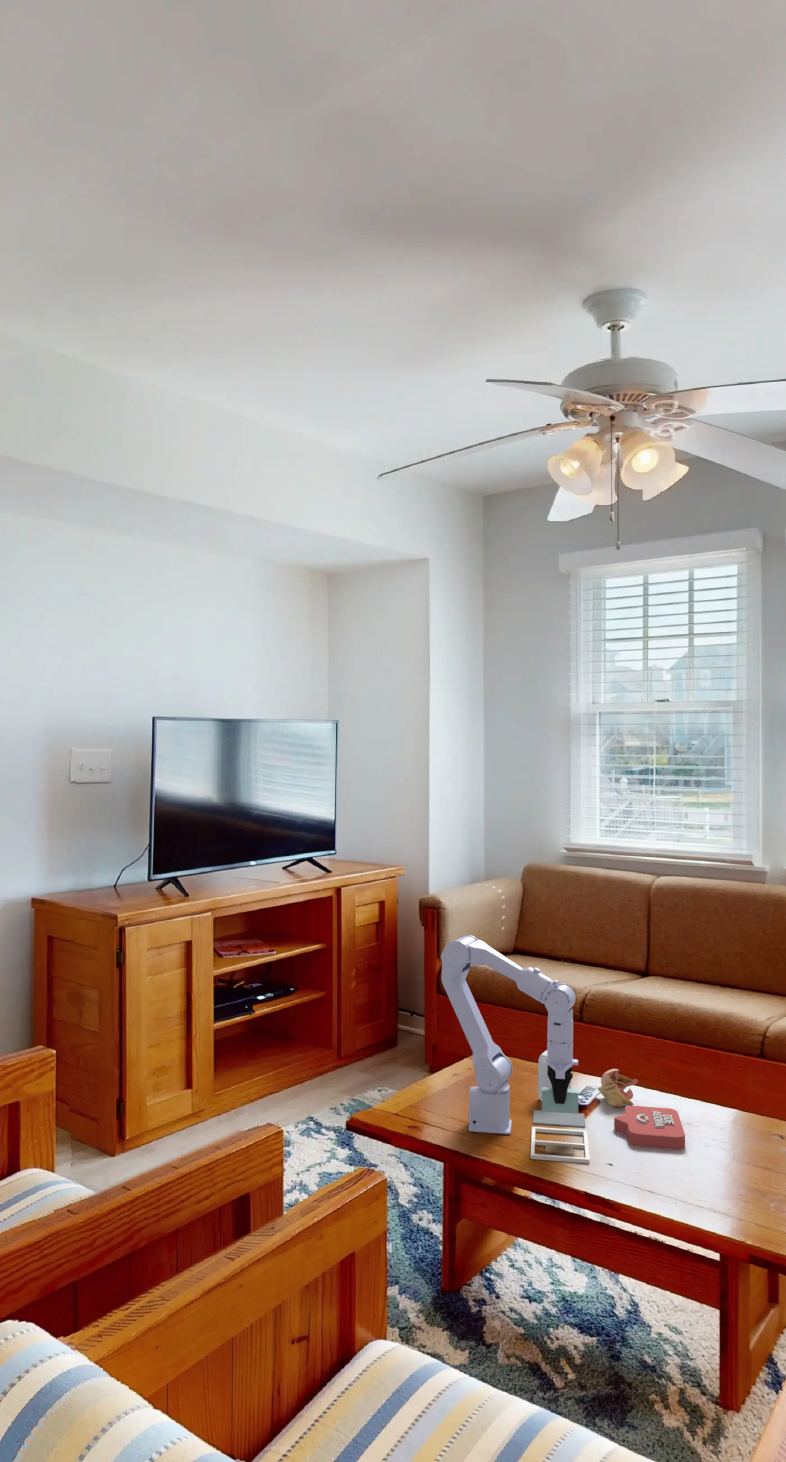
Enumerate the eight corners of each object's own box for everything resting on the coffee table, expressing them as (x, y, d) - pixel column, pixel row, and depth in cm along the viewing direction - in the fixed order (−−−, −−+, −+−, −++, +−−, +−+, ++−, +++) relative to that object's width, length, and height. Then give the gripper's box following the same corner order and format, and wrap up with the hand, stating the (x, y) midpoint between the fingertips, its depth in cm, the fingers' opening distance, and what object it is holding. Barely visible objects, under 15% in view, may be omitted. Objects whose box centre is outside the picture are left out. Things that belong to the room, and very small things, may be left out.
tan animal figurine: (633, 1116, 232) (605, 1087, 232) (607, 1123, 239) (580, 1096, 240) (647, 1087, 238) (620, 1059, 238) (622, 1095, 245) (595, 1068, 246)
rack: (530, 1158, 205) (530, 1155, 205) (532, 1130, 221) (532, 1126, 221) (589, 1163, 203) (589, 1159, 203) (586, 1134, 219) (586, 1130, 219)
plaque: (612, 1101, 230) (676, 1106, 228) (612, 1117, 230) (676, 1122, 228) (616, 1129, 213) (686, 1135, 210) (616, 1147, 213) (686, 1153, 210)
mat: (533, 1123, 224) (533, 1122, 224) (533, 1111, 232) (533, 1110, 232) (585, 1127, 223) (585, 1126, 223) (584, 1115, 230) (584, 1113, 230)
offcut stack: (545, 1158, 206) (545, 1151, 207) (545, 1151, 210) (545, 1144, 210) (573, 1160, 205) (573, 1153, 205) (573, 1153, 209) (573, 1146, 209)
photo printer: (559, 1090, 248) (559, 1042, 248) (573, 1094, 244) (573, 1045, 245) (535, 1099, 240) (535, 1050, 241) (549, 1104, 237) (549, 1054, 238)
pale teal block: (541, 1111, 215) (542, 1090, 215) (542, 1107, 218) (542, 1087, 218) (578, 1114, 214) (578, 1093, 214) (577, 1110, 216) (578, 1089, 216)
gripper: (579, 1051, 208) (578, 1114, 208) (577, 1032, 223) (576, 1091, 222) (546, 1048, 210) (545, 1111, 209) (546, 1030, 224) (546, 1089, 224)
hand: (559, 1101), depth 216 cm, fingers closed on pale teal block, 2 cm apart
